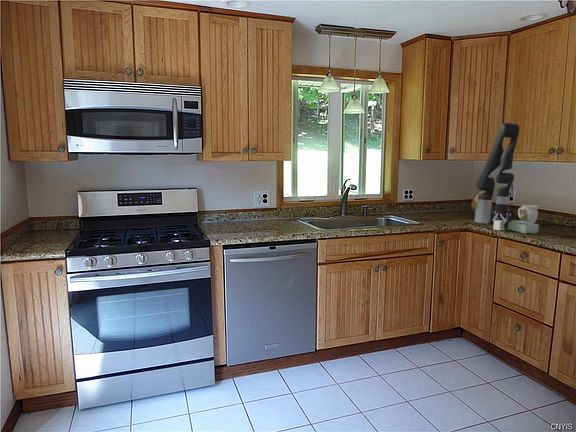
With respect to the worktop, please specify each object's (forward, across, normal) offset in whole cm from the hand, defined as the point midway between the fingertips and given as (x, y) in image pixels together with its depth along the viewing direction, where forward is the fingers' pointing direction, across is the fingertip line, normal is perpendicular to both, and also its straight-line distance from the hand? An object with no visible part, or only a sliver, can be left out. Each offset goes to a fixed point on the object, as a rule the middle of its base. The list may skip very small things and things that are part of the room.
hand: (500, 227), depth 271 cm
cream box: (+2, 0, 0) cm, 2 cm away
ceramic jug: (+1, +54, -40) cm, 67 cm away
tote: (+2, -8, -10) cm, 12 cm away
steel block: (+1, -8, -10) cm, 12 cm away
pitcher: (+2, +14, -42) cm, 44 cm away
